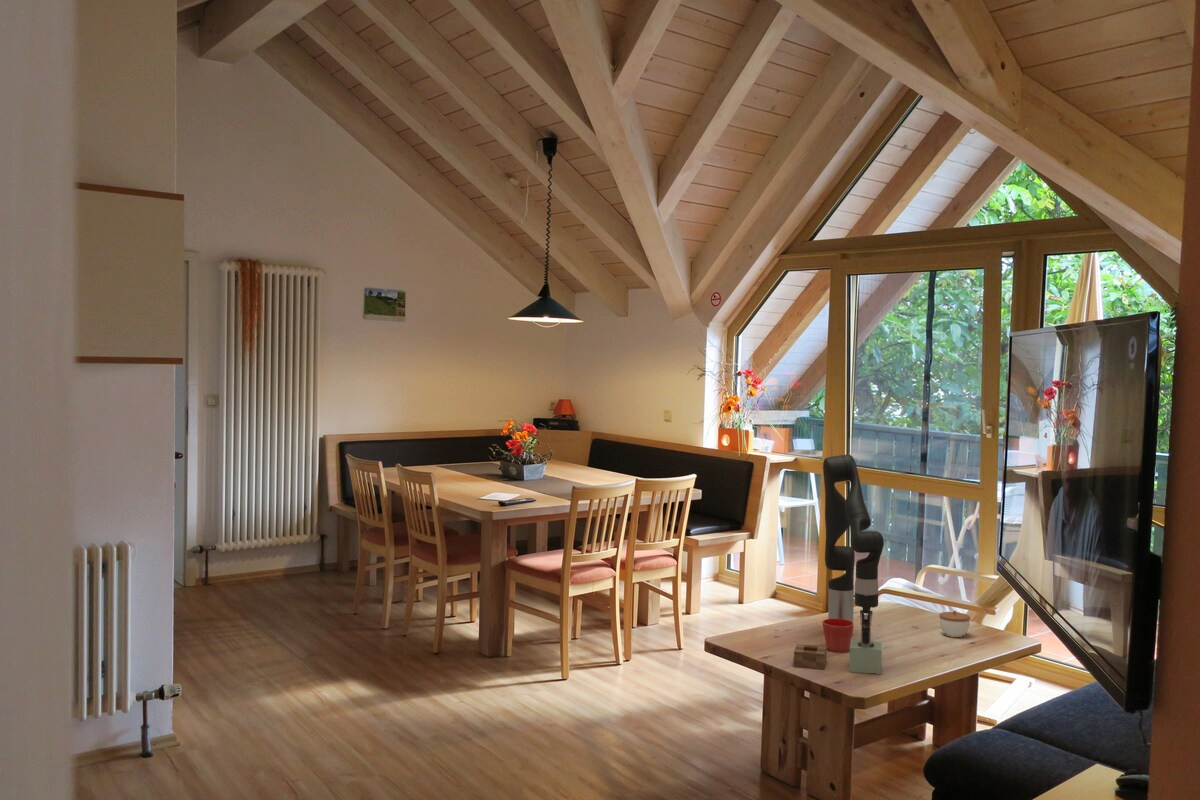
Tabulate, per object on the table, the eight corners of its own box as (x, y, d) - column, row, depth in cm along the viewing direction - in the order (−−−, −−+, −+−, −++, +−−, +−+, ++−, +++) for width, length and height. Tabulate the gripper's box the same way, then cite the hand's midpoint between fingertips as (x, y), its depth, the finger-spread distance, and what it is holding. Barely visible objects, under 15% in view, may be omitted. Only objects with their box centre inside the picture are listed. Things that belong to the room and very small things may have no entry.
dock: (850, 663, 320) (850, 639, 320) (881, 665, 317) (881, 642, 317) (849, 671, 311) (849, 647, 310) (881, 674, 308) (881, 650, 308)
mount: (796, 658, 325) (796, 643, 325) (826, 660, 323) (826, 646, 322) (793, 666, 316) (793, 651, 316) (824, 669, 313) (824, 654, 313)
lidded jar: (950, 640, 349) (950, 615, 349) (933, 632, 360) (933, 608, 359) (975, 638, 352) (976, 613, 352) (958, 631, 362) (958, 606, 362)
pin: (861, 666, 316) (861, 625, 316) (870, 667, 315) (870, 626, 315) (860, 669, 313) (861, 627, 313) (870, 670, 312) (870, 628, 312)
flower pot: (830, 654, 331) (830, 626, 330) (817, 645, 341) (817, 618, 341) (858, 652, 333) (859, 625, 332) (844, 644, 343) (845, 617, 343)
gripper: (855, 586, 321) (855, 633, 322) (854, 595, 308) (853, 644, 308) (878, 587, 319) (878, 635, 319) (878, 596, 306) (877, 646, 306)
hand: (866, 639), depth 314 cm, fingers open, 8 cm apart
